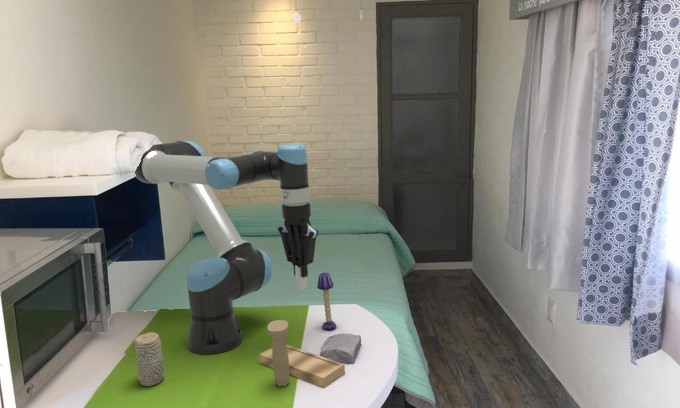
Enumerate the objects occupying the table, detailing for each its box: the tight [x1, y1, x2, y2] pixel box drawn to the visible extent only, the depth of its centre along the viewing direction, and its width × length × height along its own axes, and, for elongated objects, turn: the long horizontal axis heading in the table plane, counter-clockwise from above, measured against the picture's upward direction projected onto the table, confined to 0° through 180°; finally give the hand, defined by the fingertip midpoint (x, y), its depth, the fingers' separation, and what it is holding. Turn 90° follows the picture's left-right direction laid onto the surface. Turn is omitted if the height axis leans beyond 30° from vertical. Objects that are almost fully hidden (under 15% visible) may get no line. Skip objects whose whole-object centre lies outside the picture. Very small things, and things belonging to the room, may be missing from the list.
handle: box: [266, 319, 290, 387], centre depth 133 cm, size 5×6×15 cm
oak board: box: [258, 344, 346, 388], centre depth 142 cm, size 22×8×3 cm, turn 51°
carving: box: [134, 331, 165, 387], centre depth 138 cm, size 6×8×12 cm
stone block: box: [319, 332, 362, 364], centre depth 149 cm, size 12×5×10 cm
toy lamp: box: [316, 272, 337, 332], centre depth 163 cm, size 5×5×17 cm
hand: (301, 287), depth 153 cm, fingers closed
